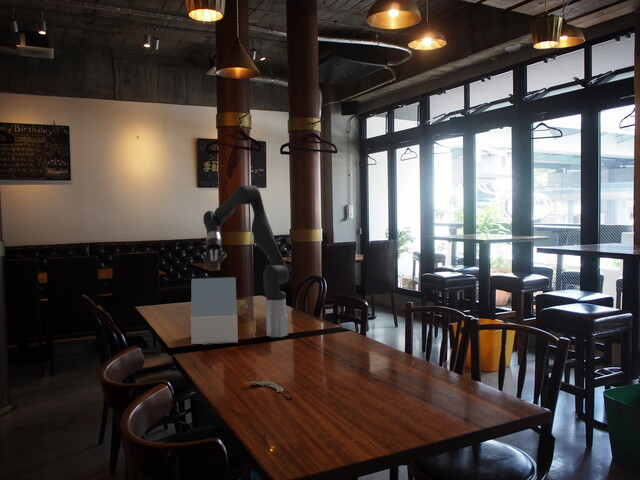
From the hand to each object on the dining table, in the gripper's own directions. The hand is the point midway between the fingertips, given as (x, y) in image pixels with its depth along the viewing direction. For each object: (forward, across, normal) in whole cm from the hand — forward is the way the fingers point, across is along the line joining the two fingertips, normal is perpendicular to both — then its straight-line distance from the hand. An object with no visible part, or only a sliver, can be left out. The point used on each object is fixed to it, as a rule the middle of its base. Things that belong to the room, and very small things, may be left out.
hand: (214, 268), depth 243 cm
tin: (-6, +12, +50) cm, 52 cm away
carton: (+32, 0, +12) cm, 34 cm away
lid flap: (+21, 0, -5) cm, 22 cm away
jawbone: (+86, +17, -40) cm, 97 cm away
